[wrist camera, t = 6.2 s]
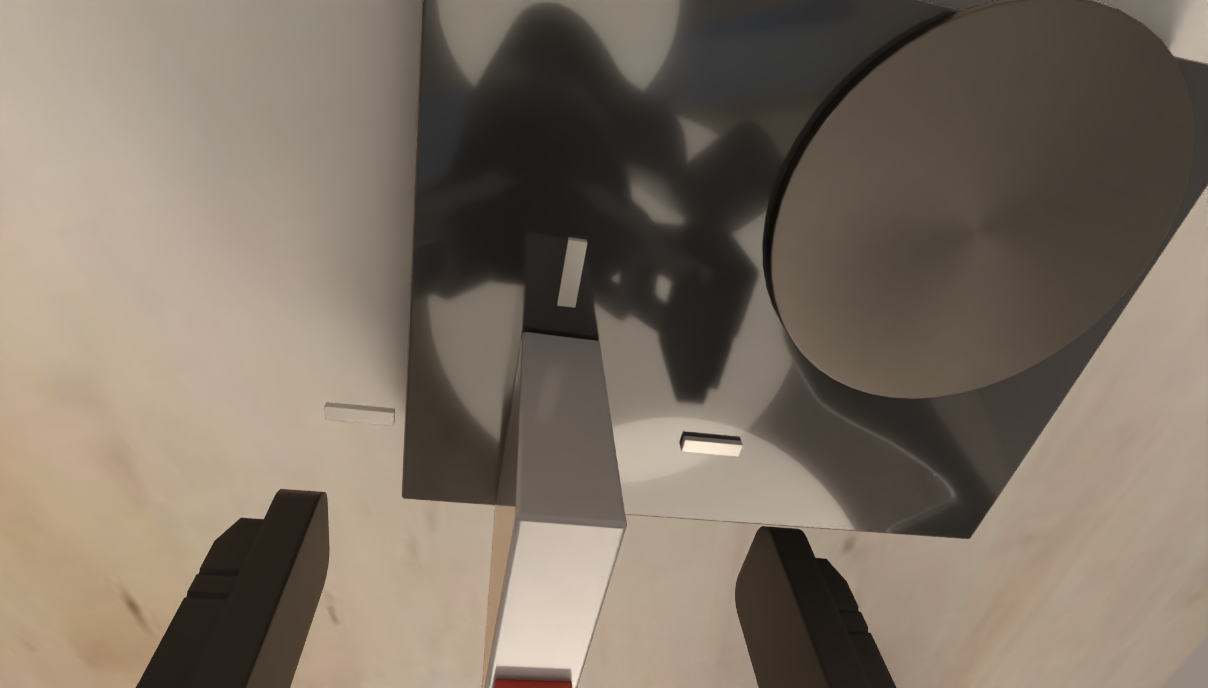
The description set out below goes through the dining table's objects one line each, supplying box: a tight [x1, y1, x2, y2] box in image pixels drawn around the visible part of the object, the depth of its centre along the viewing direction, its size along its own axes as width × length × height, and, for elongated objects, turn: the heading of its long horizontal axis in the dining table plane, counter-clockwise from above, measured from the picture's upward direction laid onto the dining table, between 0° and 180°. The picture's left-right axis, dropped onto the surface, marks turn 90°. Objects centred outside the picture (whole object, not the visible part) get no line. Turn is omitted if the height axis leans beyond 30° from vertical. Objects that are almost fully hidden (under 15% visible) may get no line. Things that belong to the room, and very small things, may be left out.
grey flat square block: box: [482, 332, 627, 688], centre depth 13 cm, size 5×2×5 cm, turn 169°
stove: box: [324, 0, 1208, 539], centre depth 15 cm, size 17×14×3 cm
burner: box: [767, 0, 1195, 399], centre depth 13 cm, size 8×8×1 cm
